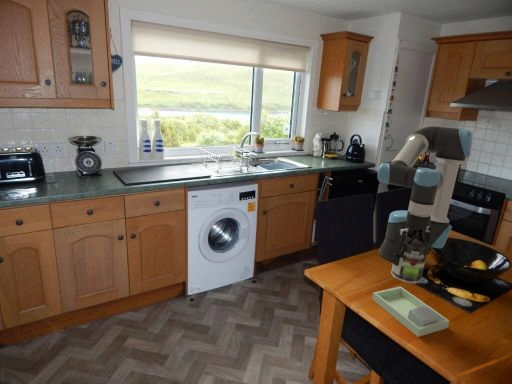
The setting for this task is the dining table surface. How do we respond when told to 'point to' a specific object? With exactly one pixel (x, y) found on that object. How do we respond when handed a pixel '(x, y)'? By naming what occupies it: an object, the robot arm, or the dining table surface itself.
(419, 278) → the coffee can
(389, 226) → the robot arm
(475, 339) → the dining table surface
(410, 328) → the tray
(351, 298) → the dining table surface
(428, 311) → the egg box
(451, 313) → the dining table surface
